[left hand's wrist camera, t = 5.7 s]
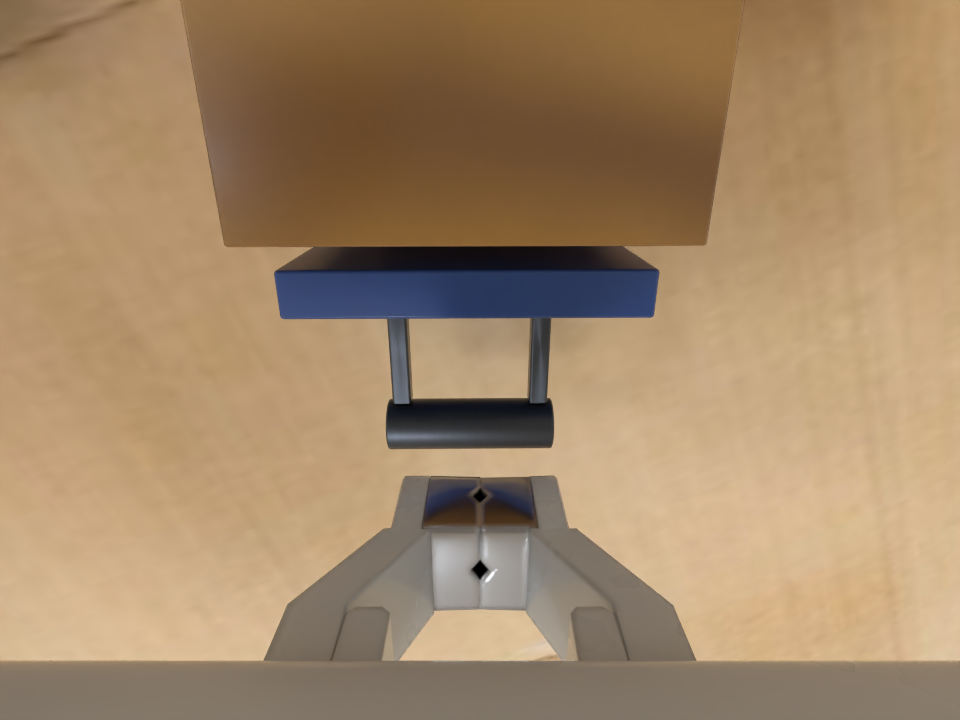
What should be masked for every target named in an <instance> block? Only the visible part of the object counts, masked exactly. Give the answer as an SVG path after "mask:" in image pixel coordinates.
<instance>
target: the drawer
mask: <svg viewBox="0 0 960 720" xmlns="http://www.w3.org/2000/svg"><path fill="white" fill-rule="evenodd" d="M274 276H275V283H276V290H277V297H278V303H279V310H280V316H281V318H282V319H387V322H388V336H389V350H390V365H391V379H392V394H393V399H390V400H389V402H388V406H387V413H386V438H387V444H388V447H389V449H474V448H551V447H552V444H553V438H554V414H553V405H552V401H551V399H550V398H547V388H548V368H549V349H550V329H551V318H650V317H653V315H654V310H655V302H656V294H657V286H658V278H659V270H658V269H656V268H655V267H653V266H652V265H650V264H649V263H647V262H646V261H644V260H643V259H641V258H640V257H638V256H637V255H635V254H634V253H632V252H631V251H629V250H628V249H626V248H625V247H623V246H431V247H313V248H312V249H310V250H308V251H307V252H305V253H303V254H302V255H300V256H299V257H297V258H295V259H294V260H292V261H291V262H289V263H287V264H286V265H284V266H283V267H281V268H279V269H278V270H276V271H275V273H274ZM429 318H530V340H529V368H528V395H527V396H528V398H471V399H412V397H413V393H412V374H411V356H410V337H409V319H429Z"/></svg>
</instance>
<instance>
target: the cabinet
mask: <svg viewBox="0 0 960 720" xmlns="http://www.w3.org/2000/svg"><path fill="white" fill-rule="evenodd" d="M744 1H745V0H181V6H182V12H183V17H184V23H185V28H186V34H187V40H188V45H189V51H190V56H191V62H192V67H193V73H194V79H195V84H196V90H197V95H198V101H199V106H200V112H201V118H202V123H203V129H204V134H205V140H206V145H207V151H208V157H209V162H210V168H211V173H212V179H213V184H214V190H215V196H216V201H217V207H218V212H219V218H220V224H221V229H222V235H223V240H224V245H225V246H226V247H431V246H704V245H706V243H707V237H708V230H709V224H710V218H711V211H712V205H713V199H714V192H715V186H716V179H717V173H718V167H719V160H720V154H721V147H722V141H723V135H724V128H725V122H726V116H727V109H728V103H729V96H730V90H731V84H732V77H733V71H734V65H735V58H736V52H737V45H738V39H739V33H740V26H741V20H742V14H743V7H744Z"/></svg>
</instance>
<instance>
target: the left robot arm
mask: <svg viewBox="0 0 960 720" xmlns="http://www.w3.org/2000/svg"><path fill="white" fill-rule="evenodd" d="M471 609H488V610H524V611H526V613H527V614H528V616H529V617H530V618H531V620H532V621H533V622H534V624H535V625H536V626H537V628H538V629H539V631H540V632H541V633H542V635H543V636H544V637H545V639H546V640H547V641H548V643H549V644H550V645H551V647H552V648H553V649H554V651H555V652H556V653H557V655H558V656H559V657H560V659H561V660H562V661H398V660H399V659H400V658H401V656H402V655H403V654H404V652H405V651H406V650H407V648H408V647H409V646H410V644H411V643H412V642H413V640H414V639H415V638H416V636H417V635H418V634H419V632H420V631H421V630H422V628H423V627H424V626H425V624H426V623H427V622H428V620H429V619H430V618H431V616H432V615H433V614H434V611H436V610H471ZM0 720H960V661H696V659H695V656H694V654H693V651H692V649H691V647H690V644H689V642H688V640H687V637H686V635H685V633H684V630H683V628H682V625H681V623H680V621H679V618H678V616H677V614H676V611H675V609H674V606H673V605H672V604H671V603H670V602H668V601H667V600H666V599H665V598H663V597H662V596H661V595H659V594H658V593H657V592H656V591H654V590H653V589H652V588H651V587H649V586H648V585H647V584H646V583H644V582H643V581H642V580H641V579H639V578H638V577H637V576H636V575H634V574H633V573H632V572H630V571H629V570H628V569H627V568H625V567H624V566H623V565H622V564H620V563H619V562H618V561H617V560H615V559H614V558H613V557H612V556H610V555H609V554H608V553H607V552H605V551H604V550H603V549H601V548H600V547H599V546H598V545H596V544H595V543H594V542H593V541H591V540H590V539H589V538H588V537H586V536H585V535H584V534H583V533H581V532H580V531H579V530H578V529H569V527H568V522H567V518H566V514H565V510H564V506H563V501H562V497H561V493H560V489H559V485H558V481H557V478H556V477H555V476H530V477H497V478H480V477H451V476H431V477H429V476H405V477H404V479H403V480H402V484H401V488H400V493H399V497H398V501H397V505H396V510H395V514H394V518H393V522H392V527H391V529H383V530H381V531H380V532H379V533H377V534H376V535H375V536H374V537H372V538H371V539H370V540H369V541H367V542H366V543H365V544H364V545H362V546H361V547H360V548H358V549H357V550H356V551H355V552H353V553H352V554H351V555H350V556H348V557H347V558H346V559H345V560H343V561H342V562H341V563H339V564H338V565H337V566H336V567H334V568H333V569H332V570H331V571H329V572H328V573H327V574H326V575H324V576H323V577H322V578H320V579H319V580H318V581H317V582H315V583H314V584H313V585H312V586H310V587H309V588H308V589H307V590H305V591H304V592H303V593H301V594H300V595H299V596H298V597H296V598H295V599H294V600H293V601H291V602H290V603H289V604H288V605H287V607H286V609H285V612H284V614H283V616H282V619H281V621H280V623H279V626H278V628H277V630H276V633H275V635H274V637H273V640H272V642H271V644H270V647H269V649H268V651H267V654H266V656H265V658H264V661H0Z"/></svg>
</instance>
